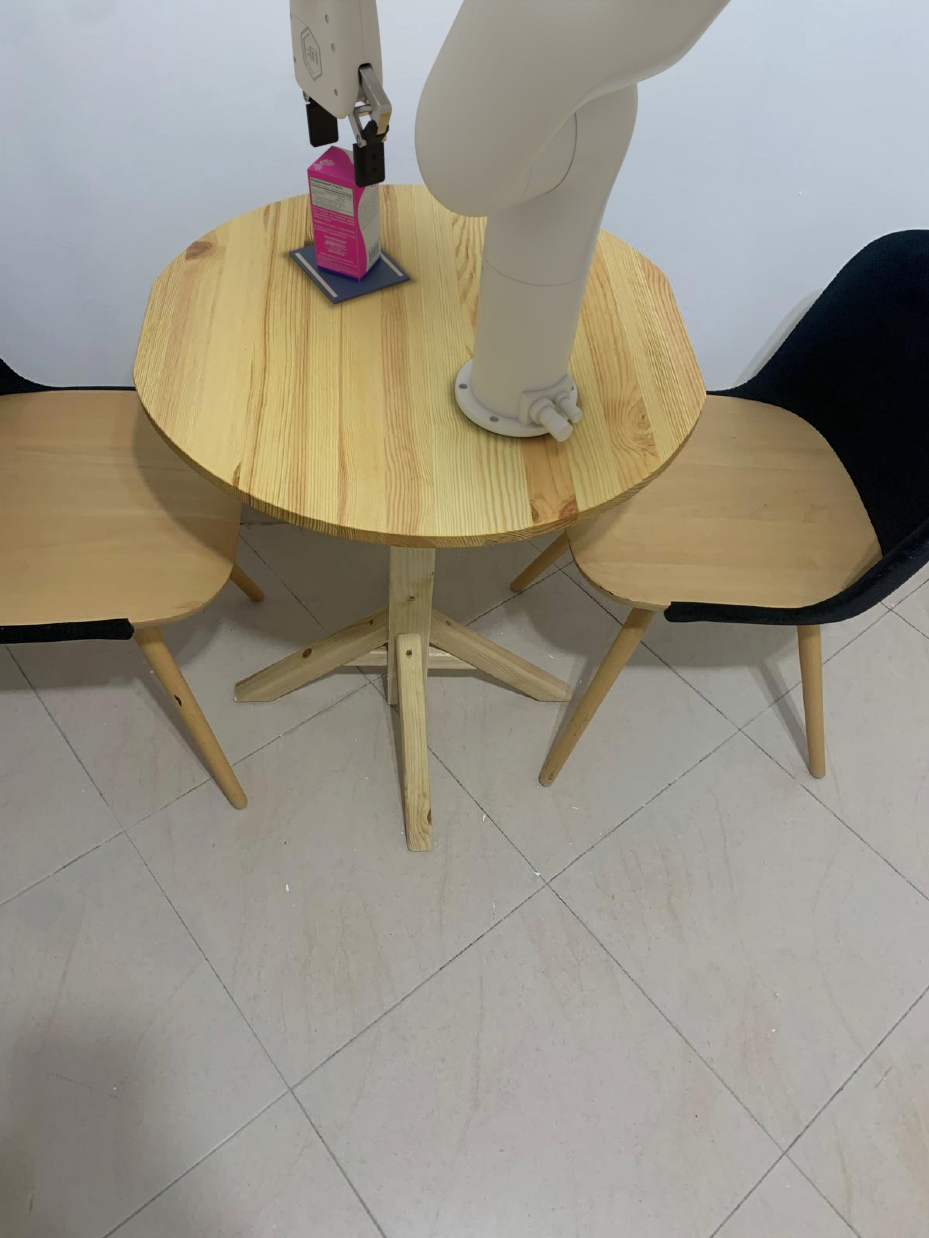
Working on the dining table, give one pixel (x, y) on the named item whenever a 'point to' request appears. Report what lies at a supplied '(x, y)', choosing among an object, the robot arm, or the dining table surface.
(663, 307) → the dining table surface
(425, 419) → the dining table surface
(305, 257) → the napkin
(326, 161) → the supplement box
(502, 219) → the robot arm
